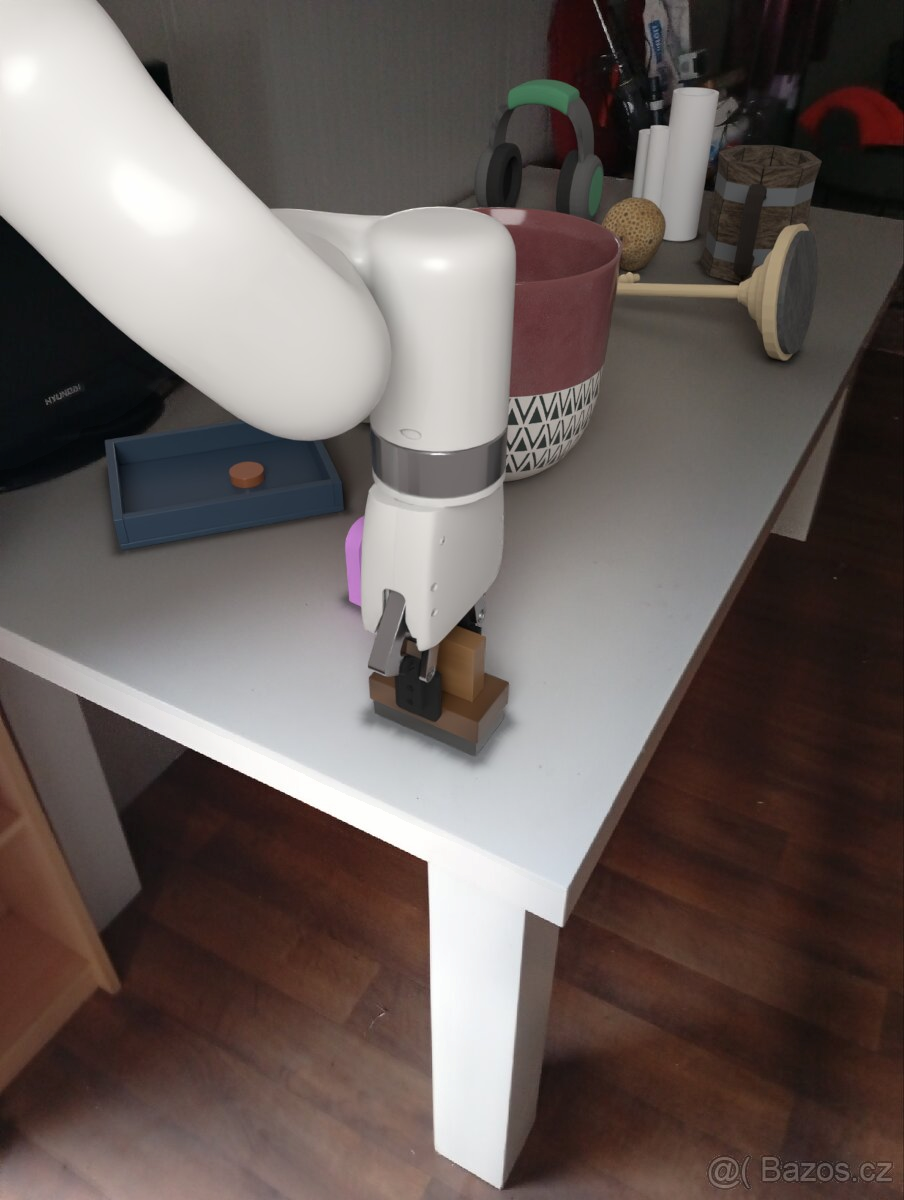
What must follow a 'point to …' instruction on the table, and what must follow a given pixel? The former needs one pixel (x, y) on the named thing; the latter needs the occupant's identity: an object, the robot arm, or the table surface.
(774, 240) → the mug
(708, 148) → the vase
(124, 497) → the tray
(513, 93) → the headphones
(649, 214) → the natural sponge
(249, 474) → the orange disc
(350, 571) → the bracket
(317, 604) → the table surface
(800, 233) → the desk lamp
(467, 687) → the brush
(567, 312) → the planter
